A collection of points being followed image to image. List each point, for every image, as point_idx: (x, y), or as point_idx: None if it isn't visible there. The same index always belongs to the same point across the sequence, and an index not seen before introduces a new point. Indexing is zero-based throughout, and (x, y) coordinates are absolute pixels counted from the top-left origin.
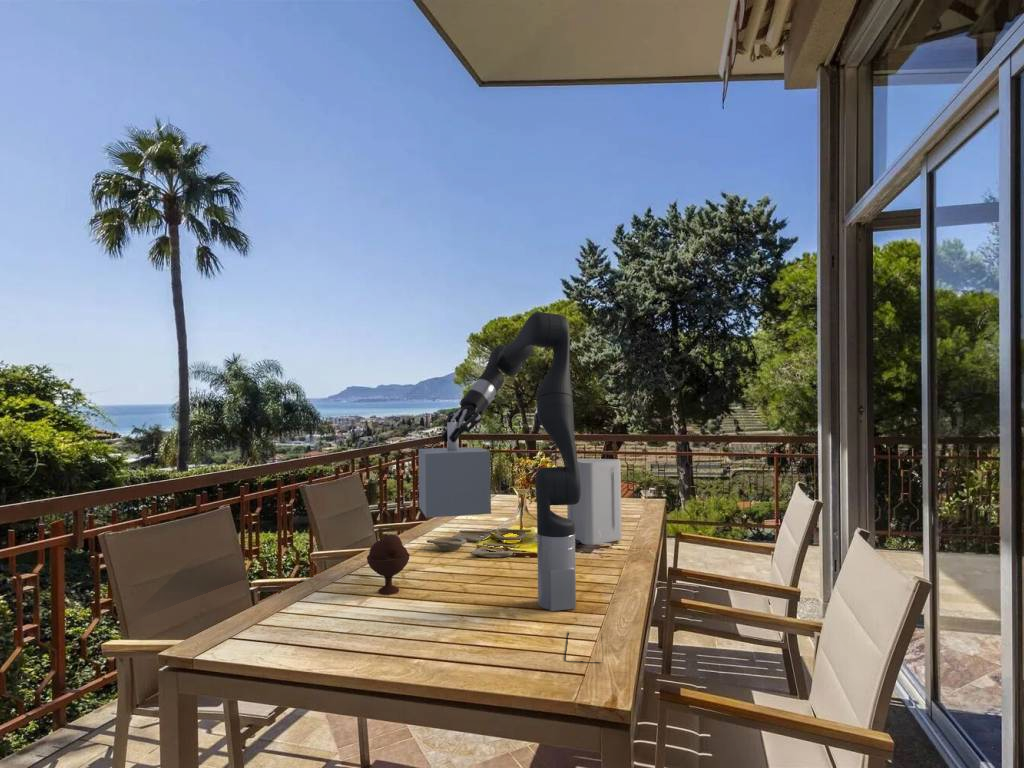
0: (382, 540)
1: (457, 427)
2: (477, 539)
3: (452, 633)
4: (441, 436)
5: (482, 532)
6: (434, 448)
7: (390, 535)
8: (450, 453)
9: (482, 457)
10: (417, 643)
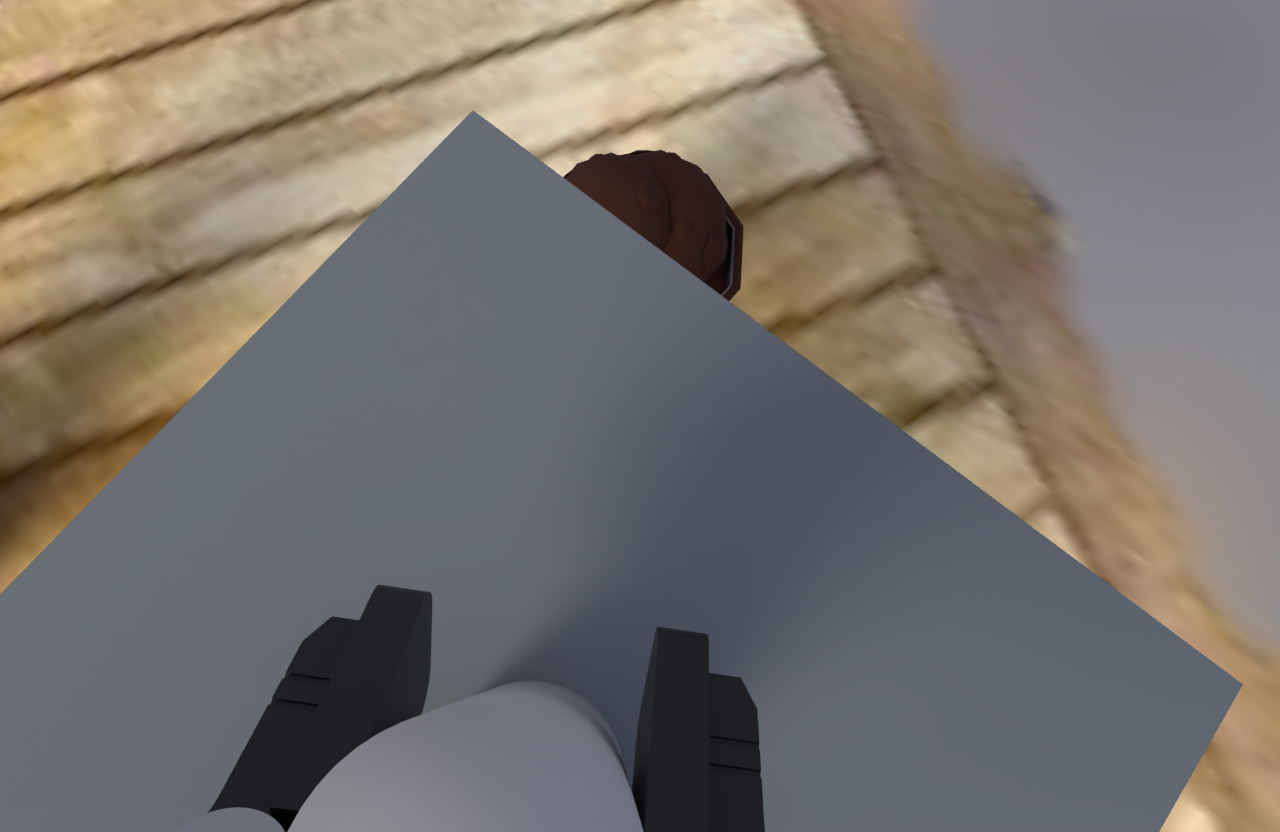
0: (633, 161)
1: (256, 825)
2: None
3: (99, 137)
4: (697, 638)
5: None
6: None
7: (607, 180)
8: (229, 363)
9: None
10: (152, 25)
